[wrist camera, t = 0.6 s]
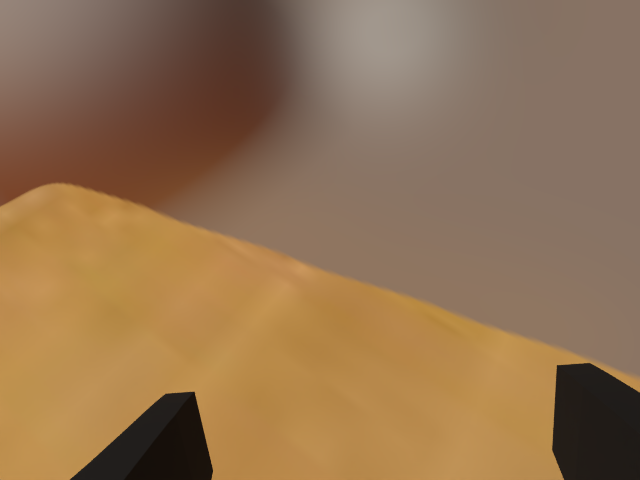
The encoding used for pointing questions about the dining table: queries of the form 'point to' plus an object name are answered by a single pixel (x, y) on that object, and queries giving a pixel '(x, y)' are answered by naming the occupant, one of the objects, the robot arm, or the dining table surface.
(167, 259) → the dining table surface
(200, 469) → the robot arm
